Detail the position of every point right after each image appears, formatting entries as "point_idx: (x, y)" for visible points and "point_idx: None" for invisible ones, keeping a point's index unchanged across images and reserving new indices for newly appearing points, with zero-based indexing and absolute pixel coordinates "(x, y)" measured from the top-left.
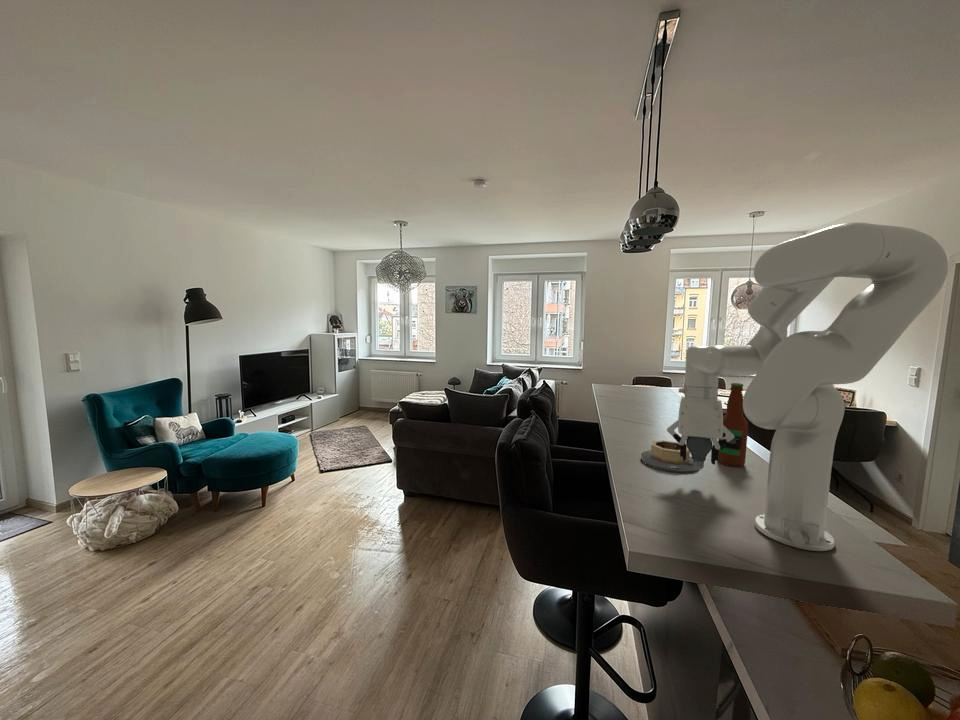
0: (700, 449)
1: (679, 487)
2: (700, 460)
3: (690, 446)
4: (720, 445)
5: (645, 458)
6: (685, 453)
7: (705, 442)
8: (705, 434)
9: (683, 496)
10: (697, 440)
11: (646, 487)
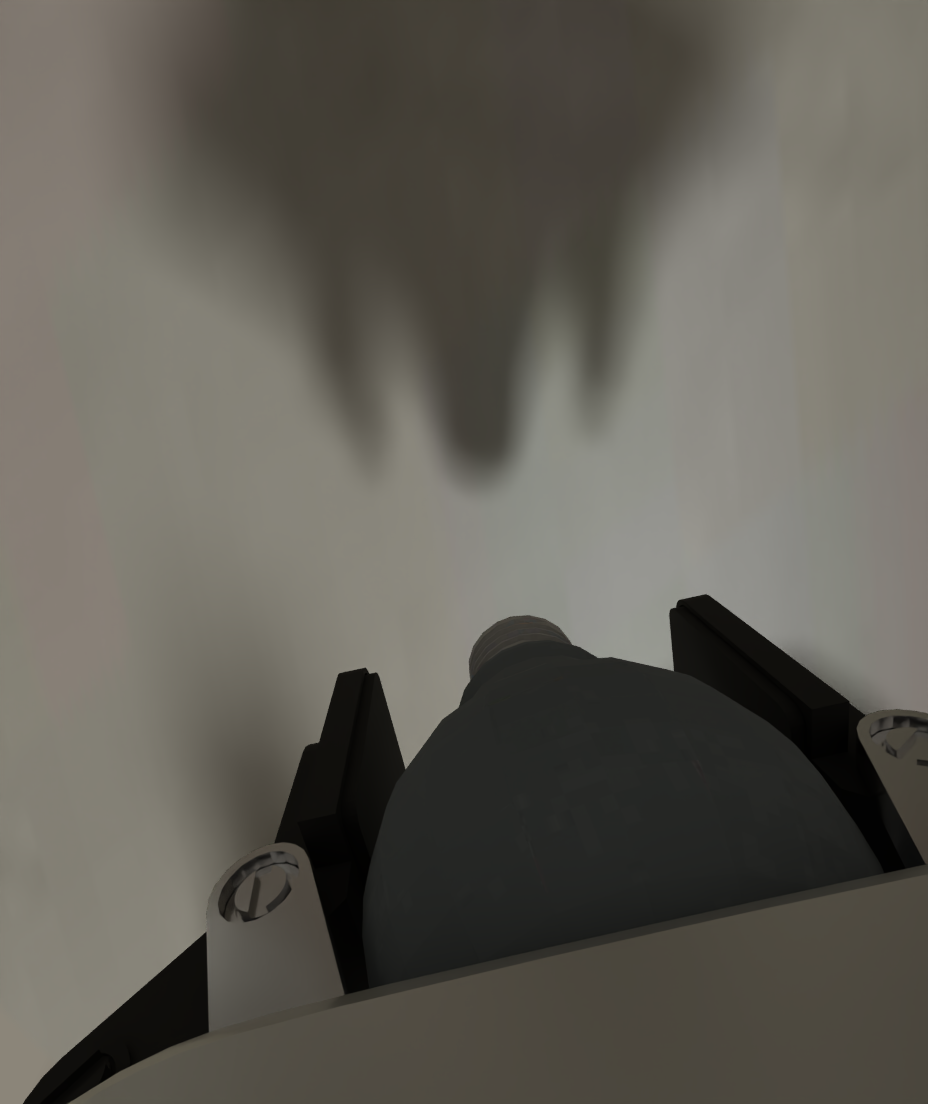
0: (541, 672)
1: (610, 435)
2: (508, 651)
3: (734, 701)
4: (205, 965)
5: None
6: (728, 644)
7: (477, 836)
8: (521, 1101)
9: (553, 231)
10: (680, 811)
11: (864, 217)
